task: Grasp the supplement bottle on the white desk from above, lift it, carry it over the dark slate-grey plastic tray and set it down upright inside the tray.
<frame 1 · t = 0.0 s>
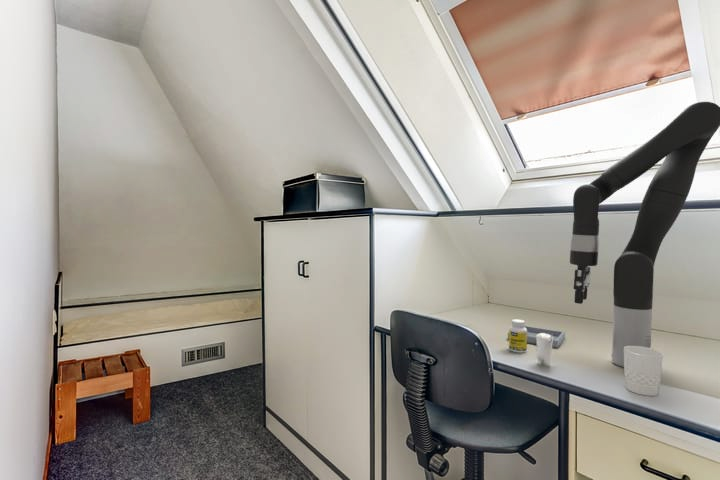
hand: (580, 301, 121), 17 cm above the table, tool pointing down, fingers open, 8 cm apart
supplement bottle: (517, 351, 127), on the table
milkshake: (544, 365, 113), on the table
white cup: (641, 391, 96), on the table
tray: (536, 339, 139), on the table
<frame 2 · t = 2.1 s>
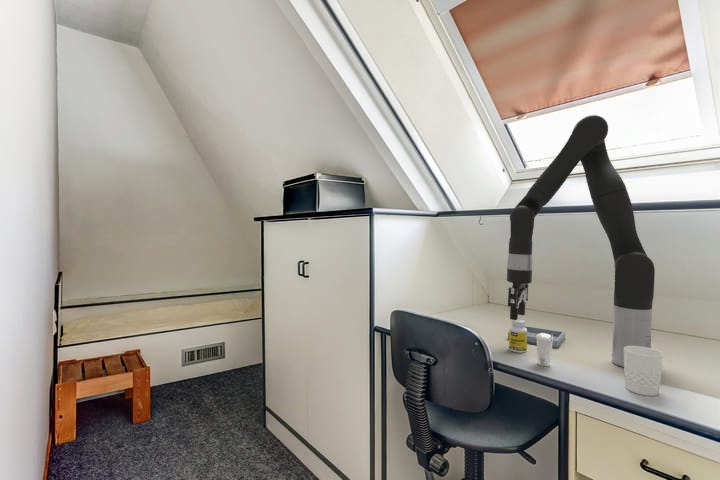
hand: (517, 317, 126), 11 cm above the table, tool pointing down, fingers open, 8 cm apart
nothing on the table moved.
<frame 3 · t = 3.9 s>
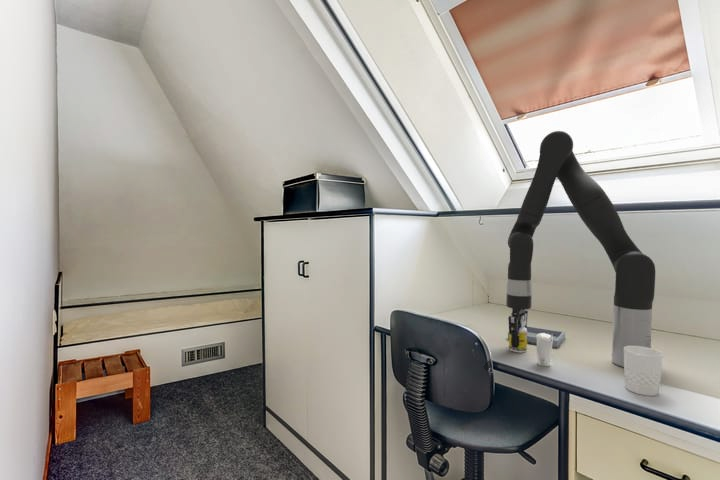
hand: (517, 344, 126), 2 cm above the table, tool pointing down, fingers closed on supplement bottle, 5 cm apart
supplement bottle: (517, 350, 127), on the table, touching gripper
everything else where it was.
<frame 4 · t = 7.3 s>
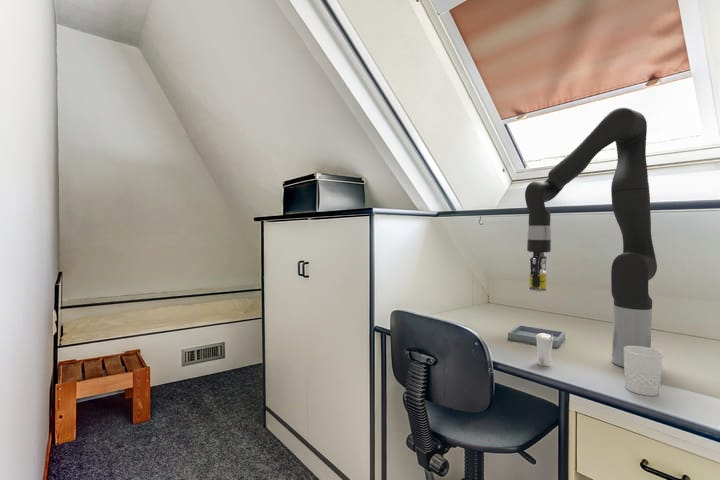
hand: (538, 285, 138), 19 cm above the table, tool pointing down, fingers closed on supplement bottle, 5 cm apart
supplement bottle: (537, 291, 138), point 17 cm above the table, touching gripper
everything else where it was.
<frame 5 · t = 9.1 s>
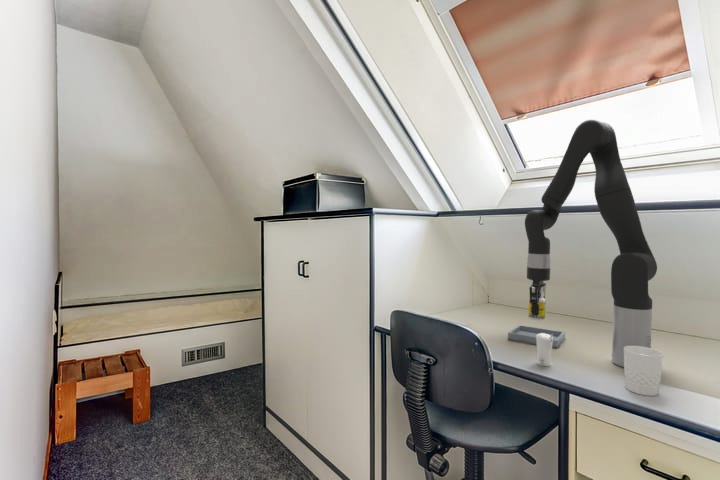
hand: (537, 313, 139), 9 cm above the table, tool pointing down, fingers closed on supplement bottle, 5 cm apart
supplement bottle: (536, 319, 139), point 7 cm above the table, touching gripper
everything else where it was.
when the fingers open (4 cm above the table, at t = 10.7 s): supplement bottle drops 1 cm, resting on tray.
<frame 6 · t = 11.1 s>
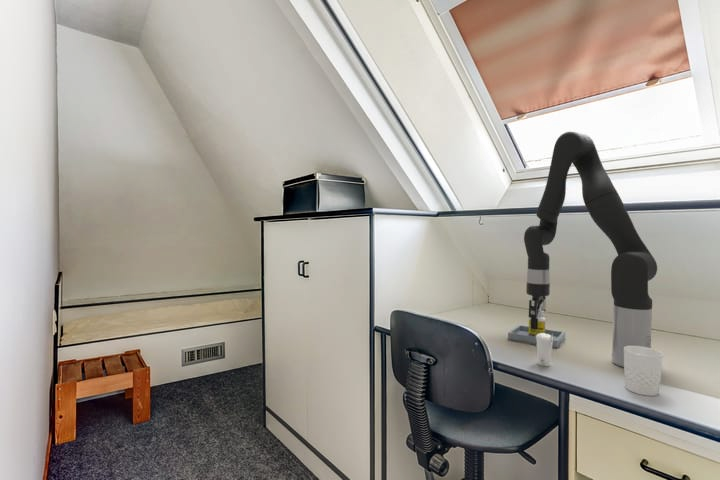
hand: (536, 326, 139), 5 cm above the table, tool pointing down, fingers open, 8 cm apart
supplement bottle: (536, 338, 139), resting on tray
everything else where it was.
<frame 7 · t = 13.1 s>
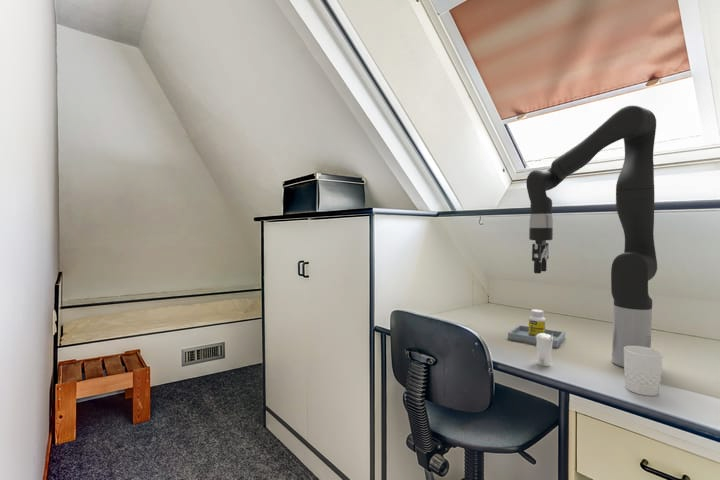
hand: (540, 272, 138), 24 cm above the table, tool pointing down, fingers open, 8 cm apart
nothing on the table moved.
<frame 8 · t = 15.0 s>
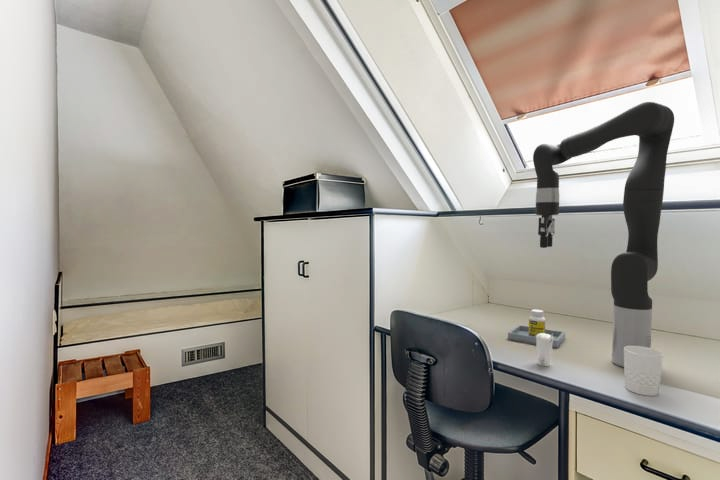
hand: (546, 247, 138), 33 cm above the table, tool pointing down, fingers open, 8 cm apart
nothing on the table moved.
at the end: supplement bottle inside the target area on the tray (0.0 cm from its centre), point 0.4 cm above the tray's base; supplement bottle tilted 0°; the gripper is holding nothing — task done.
